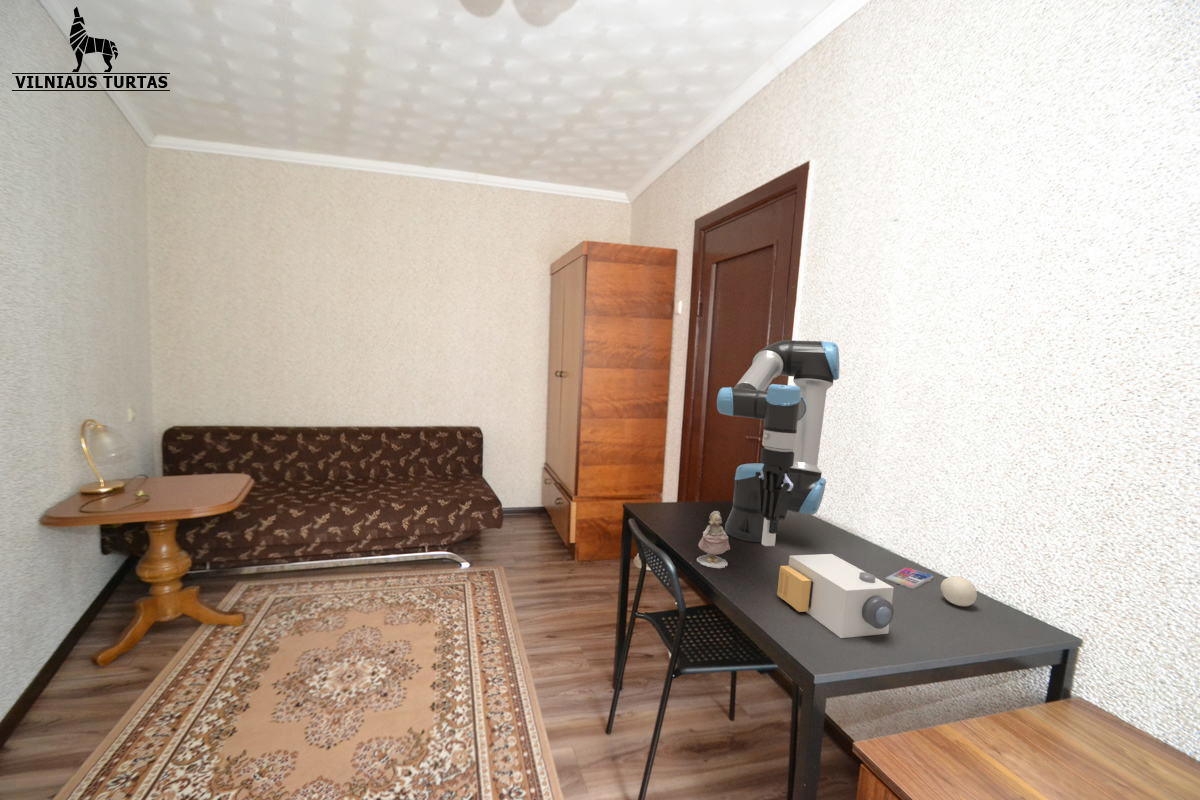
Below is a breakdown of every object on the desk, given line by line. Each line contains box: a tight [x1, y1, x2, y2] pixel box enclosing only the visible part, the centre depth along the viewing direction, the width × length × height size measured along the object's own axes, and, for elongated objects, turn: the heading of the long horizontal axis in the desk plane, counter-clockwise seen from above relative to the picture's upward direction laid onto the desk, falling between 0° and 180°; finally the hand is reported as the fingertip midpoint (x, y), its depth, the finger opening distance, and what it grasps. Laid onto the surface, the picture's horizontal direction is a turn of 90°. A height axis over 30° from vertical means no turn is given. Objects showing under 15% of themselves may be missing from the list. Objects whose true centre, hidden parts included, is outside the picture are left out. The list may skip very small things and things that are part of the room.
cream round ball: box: [940, 575, 978, 607], centre depth 120 cm, size 7×7×7 cm
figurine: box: [689, 510, 731, 569], centre depth 136 cm, size 11×10×15 cm
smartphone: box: [884, 567, 935, 590], centre depth 134 cm, size 7×1×15 cm
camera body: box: [788, 553, 895, 639], centre depth 109 cm, size 21×12×11 cm, turn 16°
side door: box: [776, 565, 811, 613], centre depth 113 cm, size 8×2×7 cm, turn 16°
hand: (768, 544), depth 120 cm, fingers closed
